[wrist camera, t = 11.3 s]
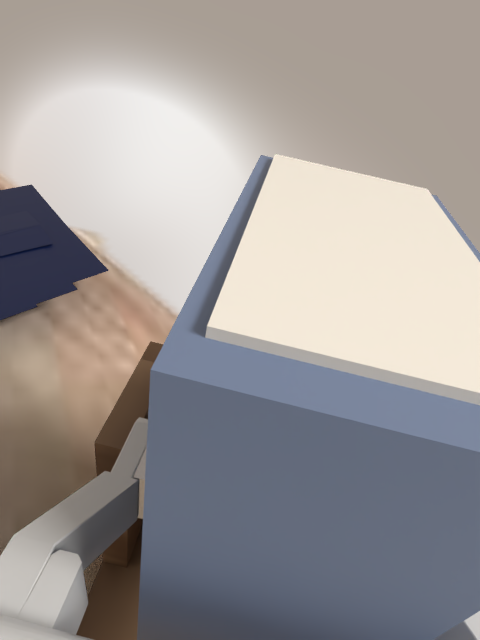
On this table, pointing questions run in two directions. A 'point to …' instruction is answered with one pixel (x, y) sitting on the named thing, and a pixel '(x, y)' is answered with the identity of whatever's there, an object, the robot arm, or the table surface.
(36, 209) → the navy flat slab
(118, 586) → the shelf
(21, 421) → the table surface
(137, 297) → the table surface
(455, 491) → the tall blue pillar
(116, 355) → the table surface
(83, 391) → the table surface
